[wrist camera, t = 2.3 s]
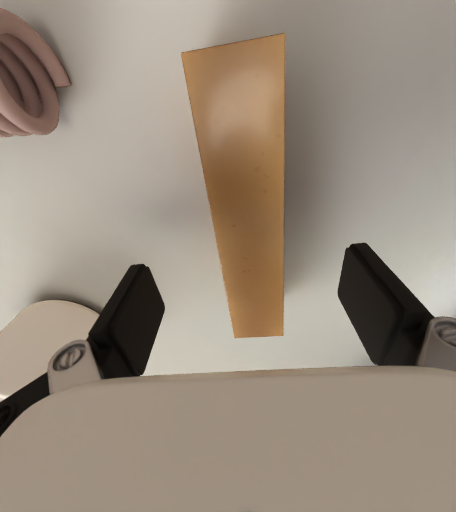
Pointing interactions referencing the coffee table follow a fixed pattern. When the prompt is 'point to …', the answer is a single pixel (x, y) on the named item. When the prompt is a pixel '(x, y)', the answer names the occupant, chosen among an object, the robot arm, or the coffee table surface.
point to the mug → (39, 340)
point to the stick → (244, 171)
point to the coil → (27, 80)
